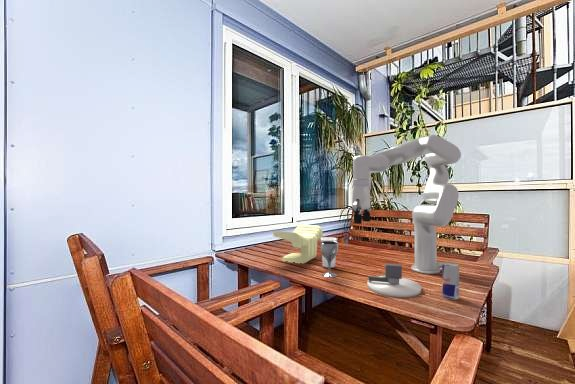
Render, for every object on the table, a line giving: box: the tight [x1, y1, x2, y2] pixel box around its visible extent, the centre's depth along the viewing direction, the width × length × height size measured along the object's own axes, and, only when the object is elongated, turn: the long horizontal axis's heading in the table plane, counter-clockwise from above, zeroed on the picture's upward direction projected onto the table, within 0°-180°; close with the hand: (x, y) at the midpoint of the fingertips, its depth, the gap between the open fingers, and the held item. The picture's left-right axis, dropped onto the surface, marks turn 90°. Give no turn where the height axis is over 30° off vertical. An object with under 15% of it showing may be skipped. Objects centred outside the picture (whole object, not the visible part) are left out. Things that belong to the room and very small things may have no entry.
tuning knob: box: [368, 263, 403, 284], centre depth 112 cm, size 12×4×7 cm, turn 73°
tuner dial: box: [366, 275, 422, 298], centre depth 111 cm, size 20×20×2 cm
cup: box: [320, 236, 338, 268], centre depth 142 cm, size 8×8×14 cm
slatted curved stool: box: [272, 224, 324, 264], centre depth 156 cm, size 30×16×18 cm, turn 151°
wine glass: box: [320, 241, 339, 278], centre depth 128 cm, size 8×8×15 cm
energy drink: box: [441, 262, 460, 301], centre depth 101 cm, size 5×5×12 cm
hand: (362, 222), depth 124 cm, fingers open, 9 cm apart
